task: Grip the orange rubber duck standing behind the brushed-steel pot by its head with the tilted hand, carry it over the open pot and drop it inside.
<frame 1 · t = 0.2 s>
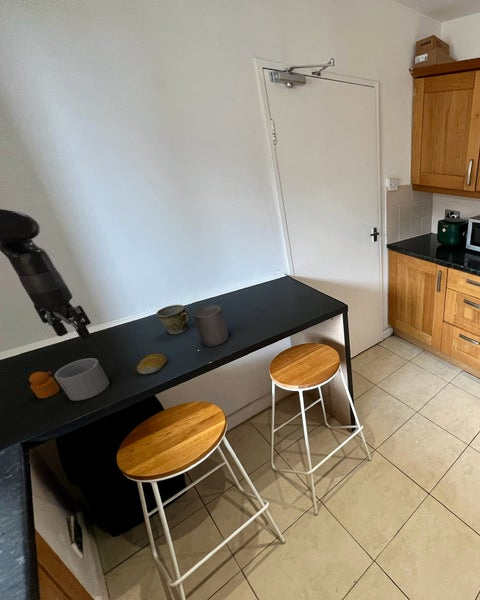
hand: (74, 336, 92), 23 cm above the countertop, tool pointing down, fingers open, 8 cm apart
duck: (49, 392, 103), on the countertop
pot: (89, 389, 104), on the countertop
grey canister: (216, 339, 130), on the countertop
ceramic cup: (181, 330, 136), on the countertop
bread roll: (153, 367, 114), on the countertop
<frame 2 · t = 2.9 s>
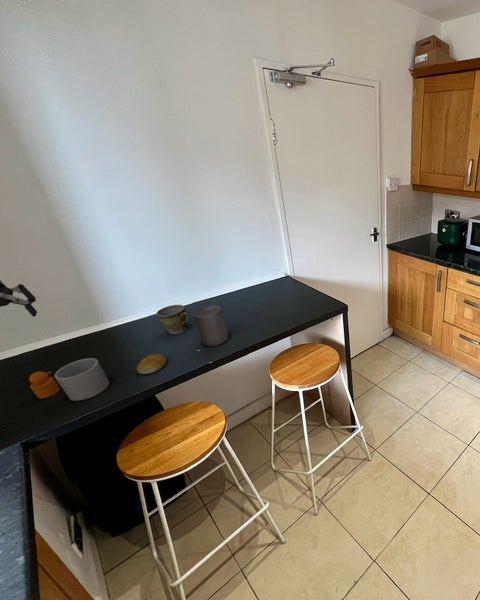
hand: (15, 322, 96), 24 cm above the countertop, tool tilted 35°, fingers open, 8 cm apart
nothing on the countertop moved.
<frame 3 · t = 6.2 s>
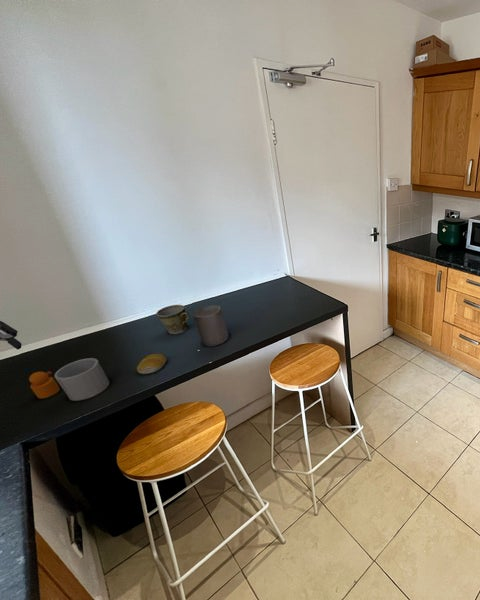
hand: (2, 355, 98), 14 cm above the countertop, tool tilted 45°, fingers open, 8 cm apart
nothing on the countertop moved.
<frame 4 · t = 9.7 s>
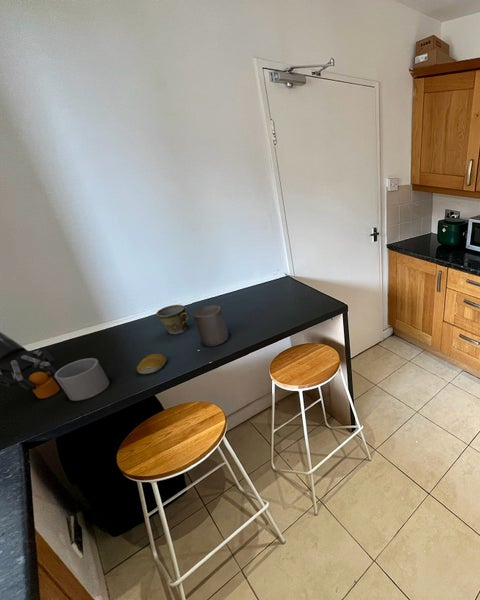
hand: (46, 381, 100), 5 cm above the countertop, tool tilted 45°, fingers closed on duck, 5 cm apart
duck: (48, 392, 103), on the countertop, touching gripper
everything else where it was.
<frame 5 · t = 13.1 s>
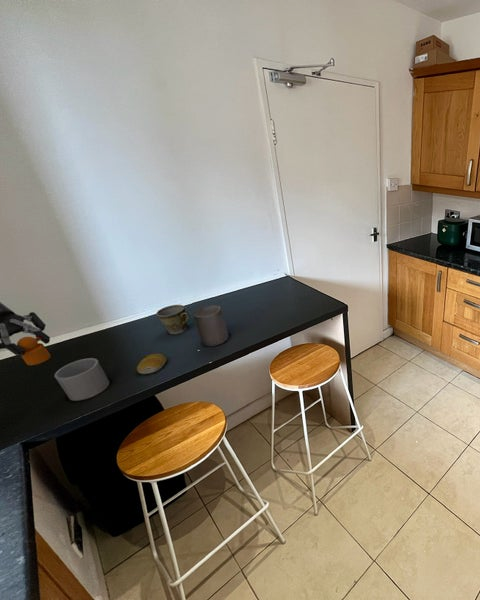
hand: (36, 347, 95), 18 cm above the countertop, tool tilted 45°, fingers closed on duck, 5 cm apart
duck: (39, 359, 97), point 13 cm above the countertop, touching gripper
everything else where it was.
when the fingers open (13 cm above the countertop, at t = 16.6 s): duck drops 8 cm, resting on pot.
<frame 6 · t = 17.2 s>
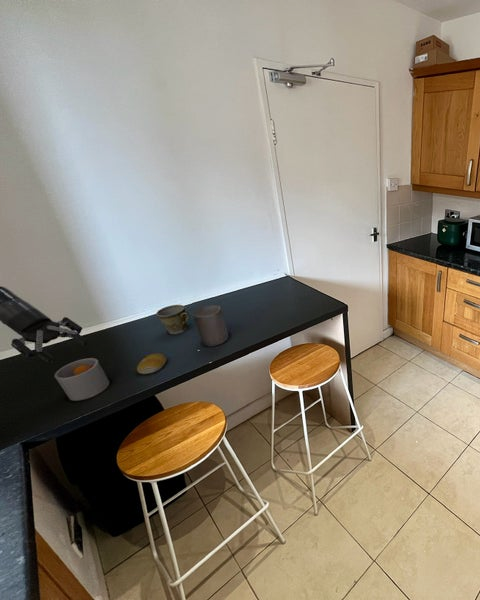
hand: (70, 352, 97), 15 cm above the countertop, tool tilted 45°, fingers open, 8 cm apart
duck: (91, 386, 105), resting on pot
everything else where it was.
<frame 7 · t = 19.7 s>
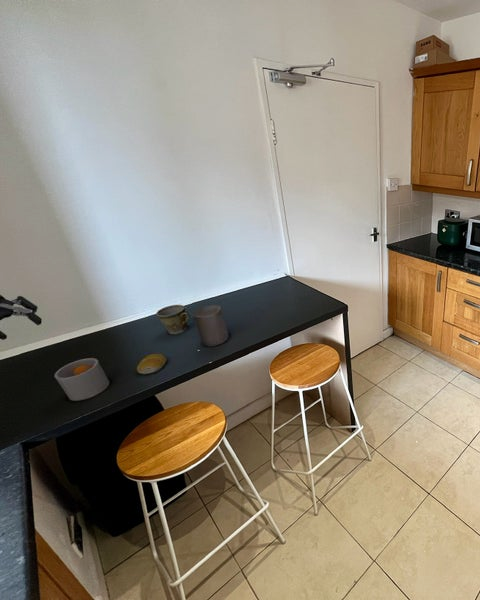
hand: (23, 330, 97), 22 cm above the countertop, tool tilted 45°, fingers open, 8 cm apart
nothing on the countertop moved.
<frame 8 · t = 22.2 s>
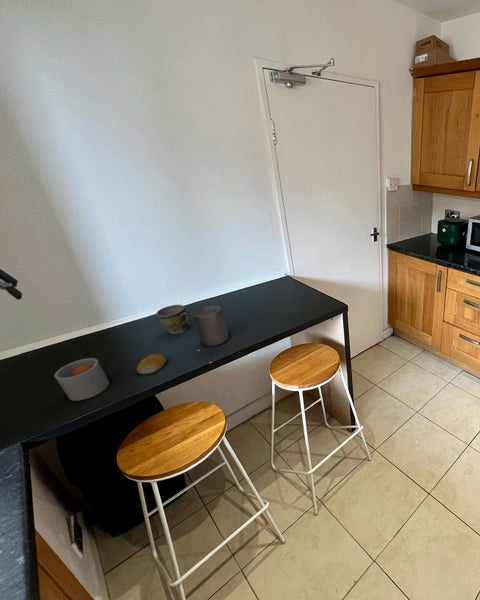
hand: (2, 304, 93), 31 cm above the countertop, tool tilted 45°, fingers open, 8 cm apart
nothing on the countertop moved.
at the end: duck inside the target area in the pot (0.8 cm from its centre), point 0.5 cm above the pot's base; the gripper is holding nothing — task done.
